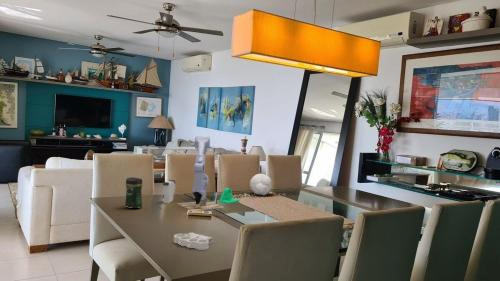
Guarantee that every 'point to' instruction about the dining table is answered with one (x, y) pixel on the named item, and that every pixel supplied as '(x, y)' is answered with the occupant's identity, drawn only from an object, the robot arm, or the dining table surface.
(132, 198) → the coffee jar
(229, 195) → the camera mount
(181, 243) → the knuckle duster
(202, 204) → the bar with round base
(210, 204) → the base plate
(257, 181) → the decorative orb
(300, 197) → the dining table surface
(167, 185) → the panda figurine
